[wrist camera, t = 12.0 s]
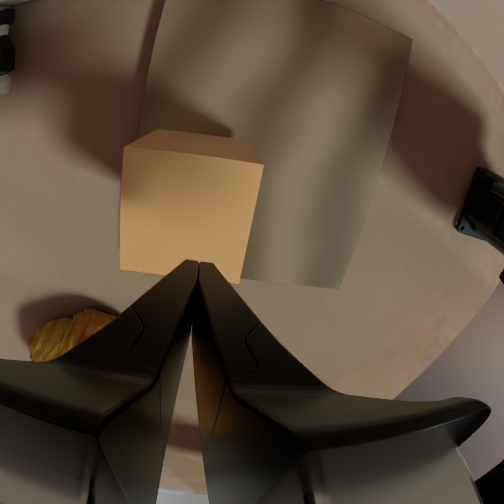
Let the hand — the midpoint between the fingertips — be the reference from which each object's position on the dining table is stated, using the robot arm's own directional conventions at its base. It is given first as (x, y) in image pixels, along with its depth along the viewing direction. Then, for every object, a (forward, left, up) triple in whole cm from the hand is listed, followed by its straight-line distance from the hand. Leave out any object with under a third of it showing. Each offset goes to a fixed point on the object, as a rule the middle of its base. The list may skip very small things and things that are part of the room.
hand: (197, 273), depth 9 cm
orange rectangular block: (+1, 0, -10) cm, 10 cm away
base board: (-3, -3, -12) cm, 13 cm away
